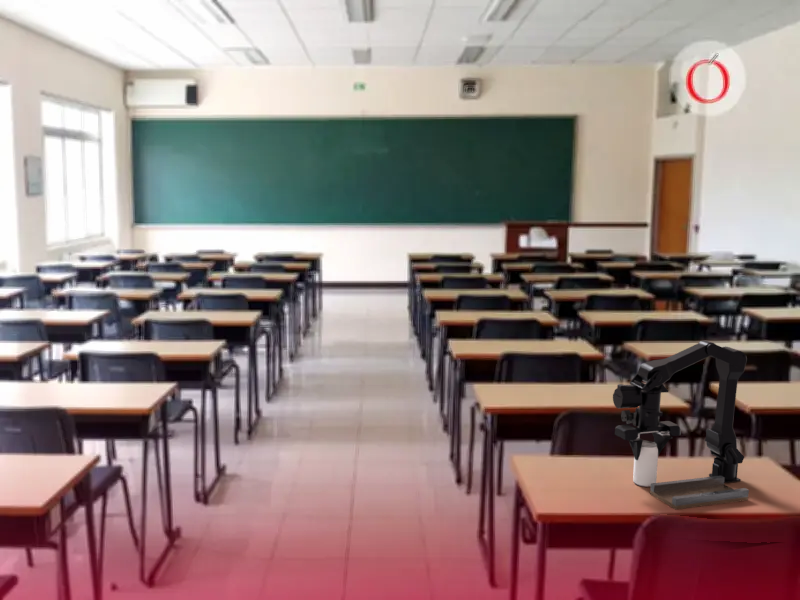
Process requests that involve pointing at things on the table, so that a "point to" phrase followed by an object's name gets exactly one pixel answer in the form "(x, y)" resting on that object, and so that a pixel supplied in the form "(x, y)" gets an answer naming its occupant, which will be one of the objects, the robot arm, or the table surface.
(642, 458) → the can
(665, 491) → the track
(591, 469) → the table surface
